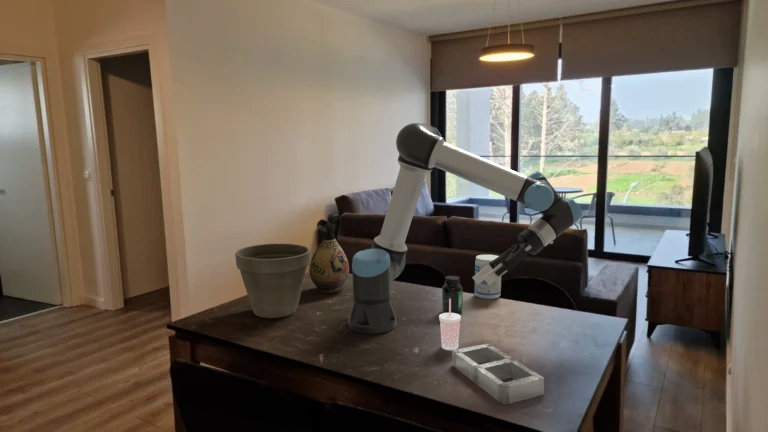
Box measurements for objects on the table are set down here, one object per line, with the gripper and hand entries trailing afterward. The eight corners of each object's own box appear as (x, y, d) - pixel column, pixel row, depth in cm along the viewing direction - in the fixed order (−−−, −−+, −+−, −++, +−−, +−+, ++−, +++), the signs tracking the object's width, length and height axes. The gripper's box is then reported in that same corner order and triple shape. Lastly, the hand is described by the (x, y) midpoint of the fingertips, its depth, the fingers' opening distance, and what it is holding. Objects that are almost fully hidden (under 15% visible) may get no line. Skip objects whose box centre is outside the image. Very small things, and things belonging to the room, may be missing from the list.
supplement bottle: (465, 314, 169) (465, 279, 167) (446, 316, 167) (446, 281, 166) (458, 308, 176) (458, 274, 174) (439, 309, 174) (439, 275, 172)
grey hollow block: (452, 365, 131) (452, 350, 130) (488, 357, 135) (488, 343, 135) (503, 405, 111) (503, 387, 110) (543, 394, 115) (544, 378, 115)
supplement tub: (469, 296, 188) (470, 257, 186) (482, 290, 195) (482, 253, 193) (493, 301, 182) (493, 261, 180) (505, 295, 189) (506, 256, 187)
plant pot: (327, 309, 177) (325, 248, 174) (269, 330, 158) (266, 262, 155) (281, 296, 193) (279, 240, 190) (224, 313, 174) (220, 251, 171)
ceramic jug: (333, 298, 189) (330, 218, 185) (302, 292, 198) (298, 215, 193) (359, 286, 203) (357, 212, 199) (329, 281, 212) (327, 210, 207)
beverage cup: (438, 342, 146) (438, 295, 144) (460, 342, 145) (460, 295, 143) (439, 351, 140) (438, 302, 138) (461, 351, 139) (461, 302, 137)
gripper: (560, 244, 138) (500, 292, 135) (529, 250, 163) (478, 290, 160) (543, 222, 138) (482, 270, 136) (515, 231, 163) (463, 271, 161)
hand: (480, 281), depth 148 cm, fingers open, 13 cm apart
